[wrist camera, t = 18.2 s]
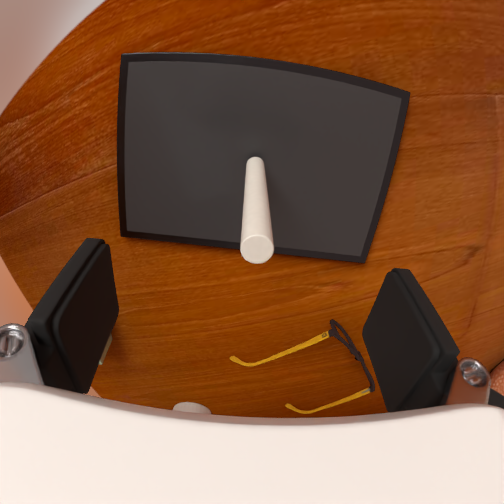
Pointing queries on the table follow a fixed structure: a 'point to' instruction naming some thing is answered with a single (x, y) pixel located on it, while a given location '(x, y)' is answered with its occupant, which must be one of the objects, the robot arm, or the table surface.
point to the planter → (498, 378)
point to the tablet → (254, 151)
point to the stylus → (256, 215)
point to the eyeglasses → (310, 342)
